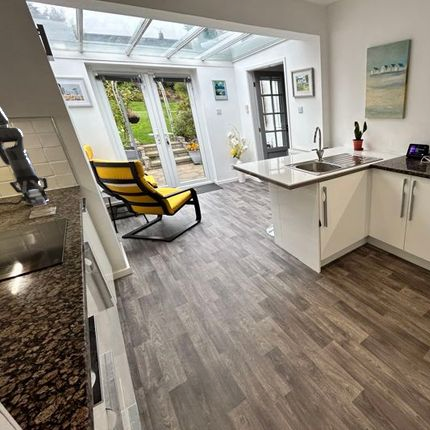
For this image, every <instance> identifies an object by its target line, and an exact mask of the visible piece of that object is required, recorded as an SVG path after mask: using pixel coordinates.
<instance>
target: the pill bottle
mask: <svg viewBox="0 0 430 430" xmlns="http://www.w3.org/2000/svg"><path fill="white" fill-rule="evenodd" d="M28 192H29V194H30V195H29V198H30V200H31V202H32V204H33V205H32V206H33V208H39V207H44V206H47V204H48V202H46V201H45V199H44V197H43V195H42V193H39V189H33V190H29V191H28Z"/></svg>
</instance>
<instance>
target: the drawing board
mask: <svg viewBox="0 0 430 430" xmlns="http://www.w3.org/2000/svg"><path fill="white" fill-rule="evenodd" d="M56 213H57V206H51V207H46V208H40V209H34V210H31V212H30V215H29V216H28V220H30V221H31V220H34V219H40V218H44V217H50V216H54V215H55V216H56Z"/></svg>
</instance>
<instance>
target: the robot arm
mask: <svg viewBox="0 0 430 430" xmlns="http://www.w3.org/2000/svg"><path fill="white" fill-rule="evenodd" d="M9 123H10V121H9V119H8V117H7V116H6V114H5V112H4V111H3V108H1V107H0V159H1V161H2V162H3V163H4V164H5V165H6V166H9V167H10V169H11V170H12V174H13V177H14V179H15V180H13V181H10V182H9V185H10V186H11V187H12V188H13V190H14V191H15V192H16V194H17V193H18V194H22V195H21V196H20V199H19V200H18V201H17V202H12V201H11V202H10V201H7V202H5V201H4V202H0V205H6V204H9V205H18V204H21V203H22V202H26V204H27V205H28V206H33V204H32V202H31V200H30V198H29V195H30V194H29V192H28V191H29V190H33V189H39V193H42V195H43V197H44V199H45V201H46V203H48V202H49V201H50V199H49V198H48V196H47V192H46V191H45V190H46V189H48V187H49V185H48V178H47V177H39V176H38V174H37V172H36V169H35V166H34V165H33V162H32V160H31V156H30V154H29V152H28V151H27V150H26V149H25V146H24V134H23V132H22V131H21V130H20V129H19V127H18V128H17V127H16V126H15V127H14V126H9V125H8V124H9ZM5 143H6V144H7V143H14V144H13V145H12V146H8V147H6V145H5ZM41 182H43V185H42V183H41Z"/></svg>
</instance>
